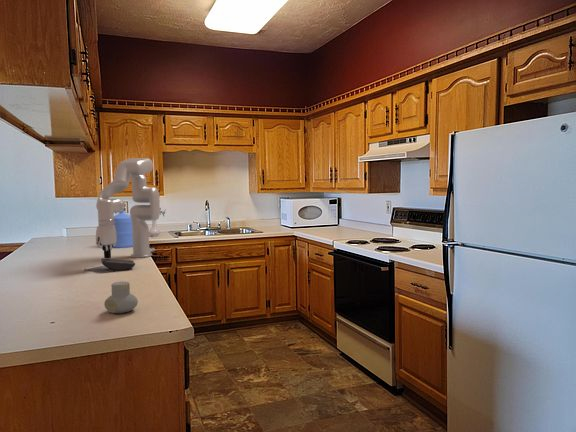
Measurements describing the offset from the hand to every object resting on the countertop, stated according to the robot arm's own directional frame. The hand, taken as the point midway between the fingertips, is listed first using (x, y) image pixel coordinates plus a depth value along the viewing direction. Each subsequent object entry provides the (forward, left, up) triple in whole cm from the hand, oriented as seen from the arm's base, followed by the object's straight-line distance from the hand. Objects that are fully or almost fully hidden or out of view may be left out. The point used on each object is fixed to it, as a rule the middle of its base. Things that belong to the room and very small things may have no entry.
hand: (107, 257), depth 231 cm
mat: (+3, 0, -6) cm, 6 cm away
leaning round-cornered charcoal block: (-3, +3, -2) cm, 5 cm away
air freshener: (+52, +69, -6) cm, 87 cm away
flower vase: (-120, -84, -6) cm, 146 cm away
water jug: (-63, -59, -6) cm, 86 cm away
